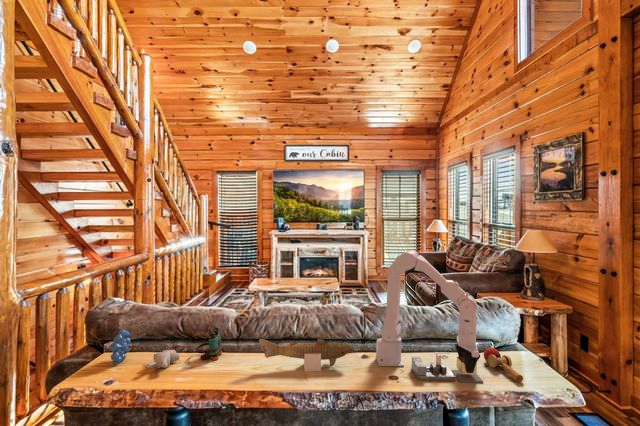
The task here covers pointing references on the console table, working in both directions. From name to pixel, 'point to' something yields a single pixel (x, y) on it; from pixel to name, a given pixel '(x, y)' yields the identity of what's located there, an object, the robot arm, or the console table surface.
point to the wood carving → (308, 352)
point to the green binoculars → (212, 346)
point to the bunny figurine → (163, 359)
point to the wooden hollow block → (462, 367)
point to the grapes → (120, 346)
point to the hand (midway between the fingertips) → (466, 368)
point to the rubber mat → (466, 377)
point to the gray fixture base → (432, 370)
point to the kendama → (501, 363)
